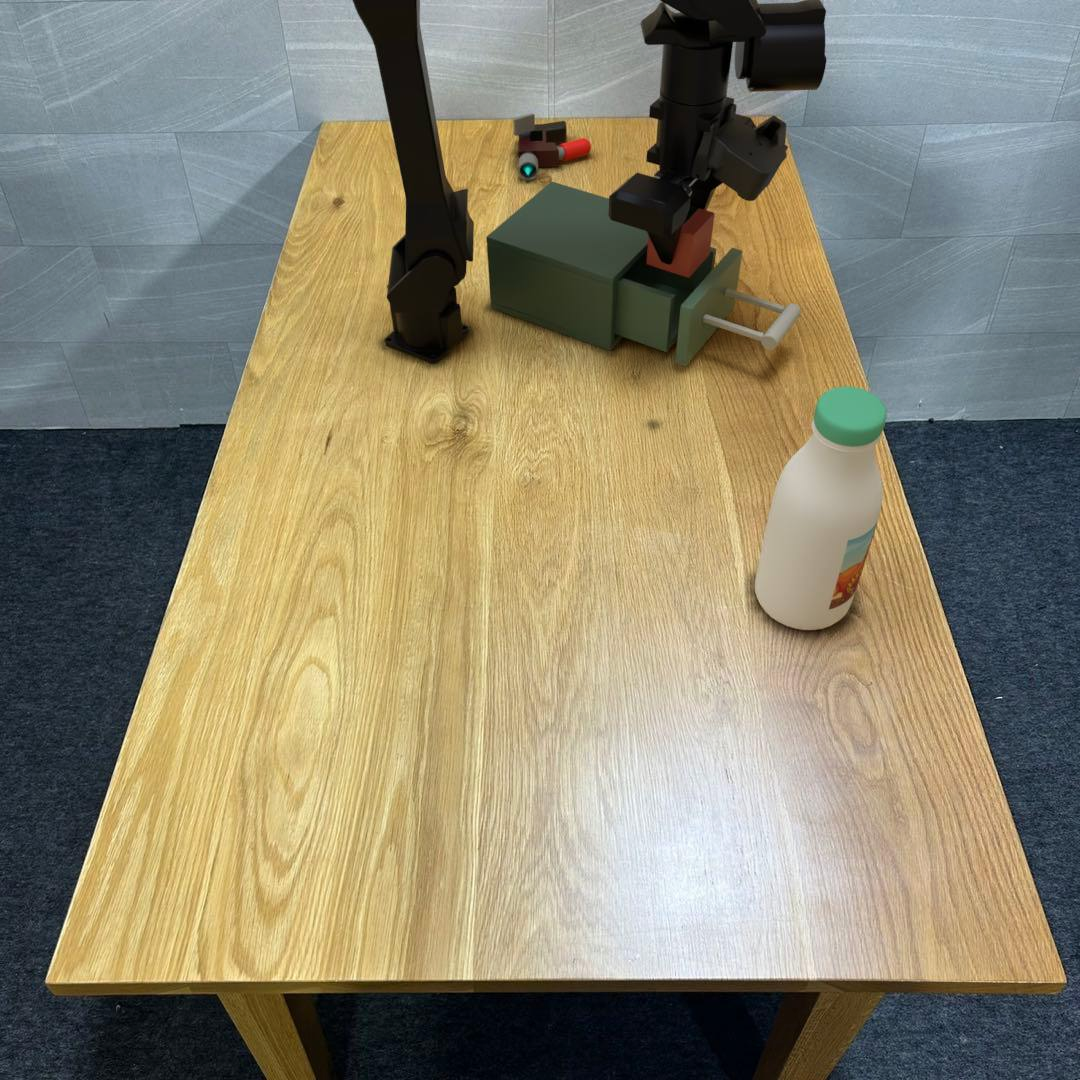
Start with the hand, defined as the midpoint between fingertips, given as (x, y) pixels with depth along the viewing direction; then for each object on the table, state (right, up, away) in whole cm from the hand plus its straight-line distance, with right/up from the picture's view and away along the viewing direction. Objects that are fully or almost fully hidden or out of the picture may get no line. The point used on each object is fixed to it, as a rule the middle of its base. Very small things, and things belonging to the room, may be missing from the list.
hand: (678, 250), depth 100 cm
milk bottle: (+8, -33, -16) cm, 37 cm away
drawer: (+2, -6, +6) cm, 9 cm away
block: (0, -1, +1) cm, 1 cm away
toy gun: (-12, +20, +31) cm, 39 cm away
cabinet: (-9, -2, +11) cm, 14 cm away
